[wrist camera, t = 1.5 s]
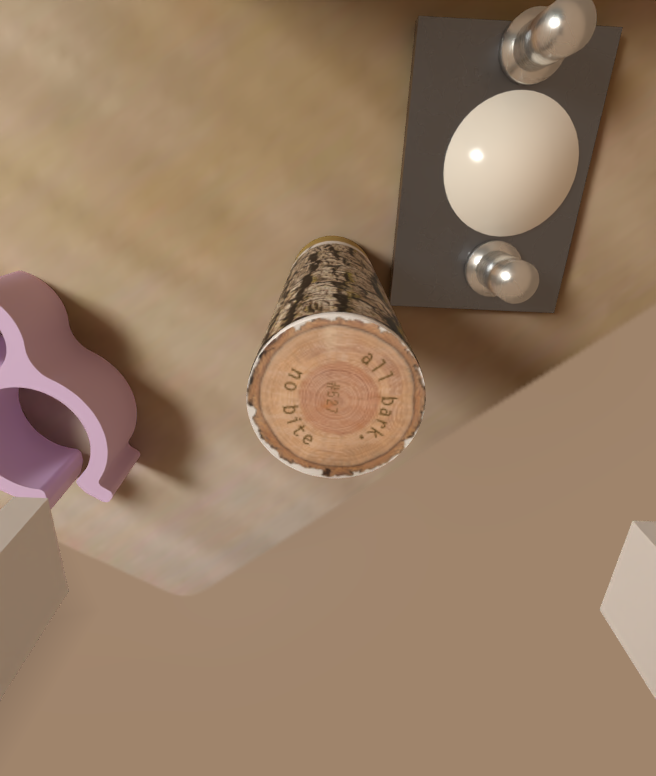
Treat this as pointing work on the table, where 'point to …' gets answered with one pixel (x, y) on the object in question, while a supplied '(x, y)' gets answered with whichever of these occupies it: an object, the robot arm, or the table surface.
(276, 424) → the paper tube
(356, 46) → the table surface
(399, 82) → the table surface
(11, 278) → the clip
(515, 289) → the collar post
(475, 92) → the plate
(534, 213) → the white dome cap
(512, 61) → the collar post
